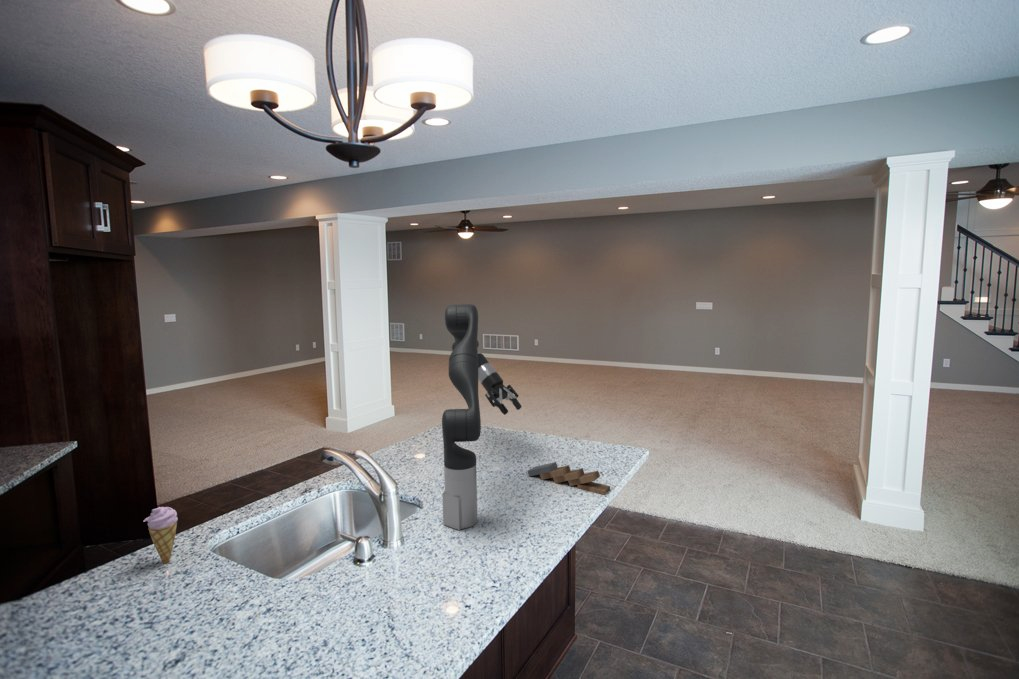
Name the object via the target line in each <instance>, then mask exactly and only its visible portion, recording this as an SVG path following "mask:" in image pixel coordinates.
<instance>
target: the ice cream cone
mask: <svg viewBox="0 0 1019 679" xmlns="http://www.w3.org/2000/svg"><path fill="white" fill-rule="evenodd" d="M178 520H179V519H178V513H177V511H176V510H175V509H173V508H172V507H169V506H158V507H157V508H153V509H151V513H150V515H149V516H148V517H146V518H144V520H143V523H144V522H147V526H148V527H147V529H148V531H149V536H150V538H151V540H152V543H153V544H154V547H155V550H156V552H157V554H158V556H159V557H160V560H161V562H162V564H169V563H170V561H171V558H172V553H173V548H174V544H175V538H176V532H177V527H178Z"/></svg>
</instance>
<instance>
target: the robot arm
mask: <svg viewBox="0 0 1019 679" xmlns="http://www.w3.org/2000/svg"><path fill="white" fill-rule="evenodd" d="M444 323H445V327H446V329H447V331H448V332H449V333H450V335H451V336H452V337H453V338H454V342H453V343H452V346H451V350H452V351H451V353H450V355H449V357H448V378H449V380H450V382H451V384H453V386H454V388H456V390H457V391H458V393H459V394H461V396H462V397H463V399H464V401H465V403H466V405H467V408H449V409H445V410H444V411H443V413H442V417H441V429H442V442H443V470H444V472H443V474H444V479H443V480H444V492H442V494H441V495H442V524H443V525H444V526H446V527H450V528H452V529H455V530H458V531H460V530H462V529H467V528H471V527H473V526H475V525H476V524H477V523H478V488H477V487H478V484H477V481H478V480H477V478H478V477H477V471H478V470H477V455H476V453H475V452H474V451H472V450H470V449H466V448H465V447H461V446H460V445H458V444H457V443H459V442H461V443H462V442H464V443H465V442H466V443H467V442H475V441H478V440H479V439H480V436H481V432H482V431H481V430H482V424H481V423H482V420H481V411H480V397H479V383H480V384H481V385H482V386H483V388H484V390H485V391H486V393H485V394H484V395H485V397H486V399H487V401H488V402H489V403H490V405H491V406H492V407H493V408H495V407H496V408H498V409H499V410H500V412H501V413H502V414H503V415H505V416H506V415H507V414H508V413H509V410H508V408H507V407H506V406H505V404H504V403H503V401H502V400H505V401H509V402H511V403H512V405H513V406H514V407H515V409H516V410H517V411H519V410H521V409H522V404H521V403H520V402H519V400H518V397H519V394H518V393H517V392H516V390H515V389H514V388H513V386H512V385H511V384H508V385H507V386H505V385H504V380H503V378H502V377H501V376H500V374H499V373H498V372H497V370H496V369H495V368H494V367H493V365H492V364H491V363H490V362H489V360H487V358H486V356H485V355H484V354H483V353H481V352H480V353H479V351H478V348H479V346H480V344H479V340H478V331H479V312H478V309H477V307H476V305H475V304H470V303H469V304H467V303H465V304H451V305H448V306H446V308H445V311H444Z"/></svg>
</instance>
